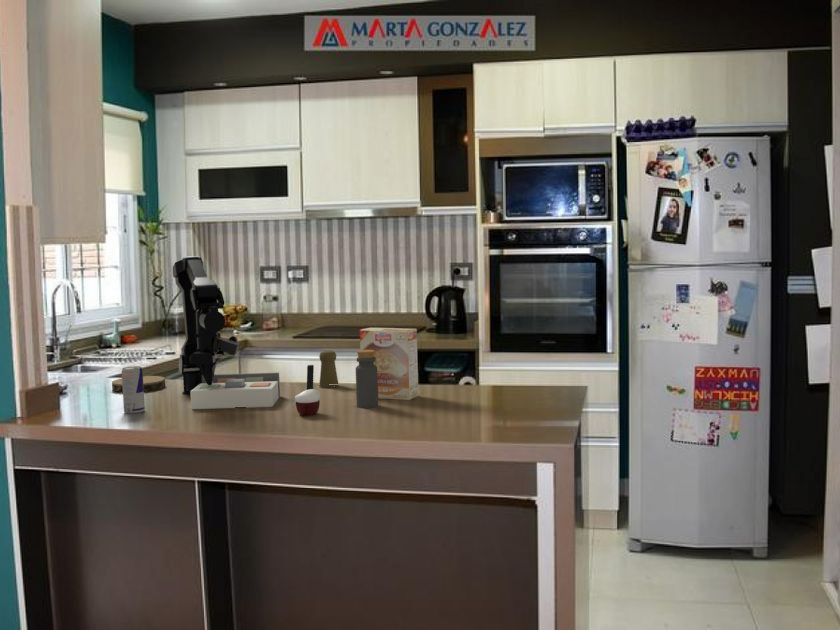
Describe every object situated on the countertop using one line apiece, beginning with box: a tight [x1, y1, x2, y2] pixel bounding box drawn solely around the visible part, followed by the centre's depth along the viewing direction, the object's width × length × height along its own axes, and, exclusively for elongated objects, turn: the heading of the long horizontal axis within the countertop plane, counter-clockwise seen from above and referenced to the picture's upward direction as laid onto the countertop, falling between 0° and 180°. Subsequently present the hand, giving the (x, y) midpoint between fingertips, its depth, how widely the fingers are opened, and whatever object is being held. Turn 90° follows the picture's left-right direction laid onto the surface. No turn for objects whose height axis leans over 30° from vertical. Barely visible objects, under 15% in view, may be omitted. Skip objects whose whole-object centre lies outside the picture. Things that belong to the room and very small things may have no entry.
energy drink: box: [121, 365, 146, 415], centre depth 225 cm, size 5×5×12 cm
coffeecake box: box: [359, 327, 419, 401], centre depth 236 cm, size 15×7×20 cm, turn 68°
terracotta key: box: [251, 383, 270, 387], centre depth 233 cm, size 5×5×4 cm
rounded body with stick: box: [294, 364, 321, 417], centre depth 216 cm, size 10×6×12 cm, turn 153°
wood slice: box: [111, 375, 166, 394], centre depth 262 cm, size 16×16×3 cm
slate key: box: [225, 379, 245, 388], centre depth 233 cm, size 5×5×4 cm
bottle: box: [355, 349, 379, 409], centre depth 224 cm, size 6×6×15 cm
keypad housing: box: [190, 372, 281, 410], centre depth 234 cm, size 22×15×7 cm
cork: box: [318, 349, 339, 389], centre depth 257 cm, size 6×6×11 cm
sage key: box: [200, 384, 220, 389], centre depth 233 cm, size 5×5×4 cm
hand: (209, 384), depth 232 cm, fingers closed
